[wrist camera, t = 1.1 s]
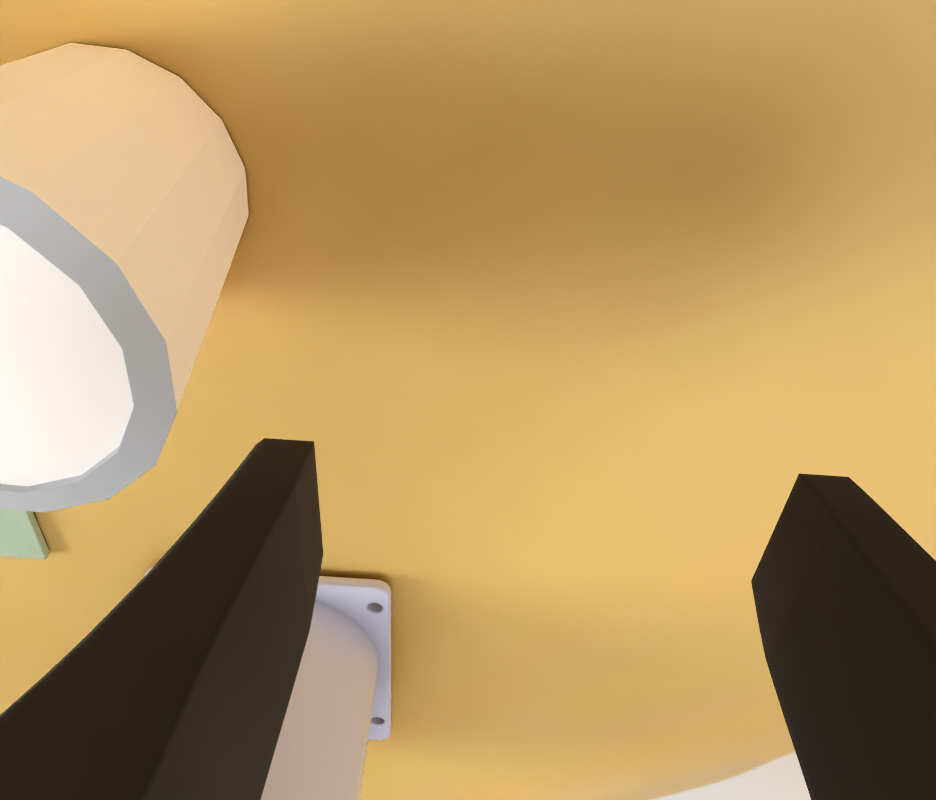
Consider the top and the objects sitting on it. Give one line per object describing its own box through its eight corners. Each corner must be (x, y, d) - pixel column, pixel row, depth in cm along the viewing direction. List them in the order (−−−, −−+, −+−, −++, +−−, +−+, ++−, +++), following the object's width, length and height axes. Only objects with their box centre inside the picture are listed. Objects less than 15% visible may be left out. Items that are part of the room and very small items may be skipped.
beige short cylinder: (-114, 109, 16) (-426, 268, 11) (130, -64, 14) (-103, 25, 9) (116, 350, 20) (-30, 560, 15) (336, 241, 18) (264, 439, 12)
